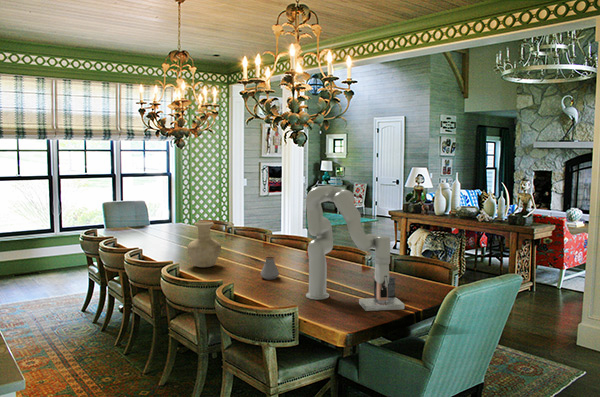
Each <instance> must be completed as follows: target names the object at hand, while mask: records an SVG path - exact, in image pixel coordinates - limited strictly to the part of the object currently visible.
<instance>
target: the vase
mask: <svg viewBox="0 0 600 397" xmlns="http://www.w3.org/2000/svg"><path fill="white" fill-rule="evenodd" d="M214 224H215V223H214V222H212V221H197V222H194V227H197V238H195V239H194V240H191V241H190V242H189V243H188V245H187V248H186V249H187V254H188V256H189V258H190V260H191V261H192V265H193V266H194V267H195V268H196V267H197V268H210V267H214V266H215V265H216V263H217V260H218V259H219V257H220V254H221V251H222V245H221V243H220V242H219V241H217V240H216V239H213V238H212V237H211V228H212V227H213V226H214Z"/></svg>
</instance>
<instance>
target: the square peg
mask: <svg viewBox="0 0 600 397" xmlns="http://www.w3.org/2000/svg"><path fill="white" fill-rule="evenodd" d="M383 283H384V282H383ZM380 295H381V284H379V283H378V282H377V299H378V300H379V301H381V300H388V287H387V297H384V298H381V297H380Z"/></svg>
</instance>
